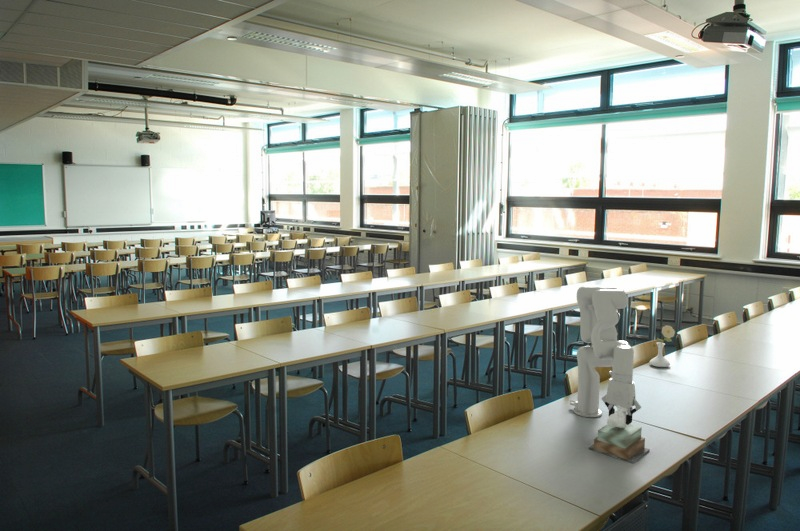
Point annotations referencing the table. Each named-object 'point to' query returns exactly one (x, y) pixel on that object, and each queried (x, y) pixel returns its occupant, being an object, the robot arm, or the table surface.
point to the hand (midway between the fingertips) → (620, 421)
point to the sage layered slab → (621, 443)
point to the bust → (618, 418)
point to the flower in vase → (659, 359)
